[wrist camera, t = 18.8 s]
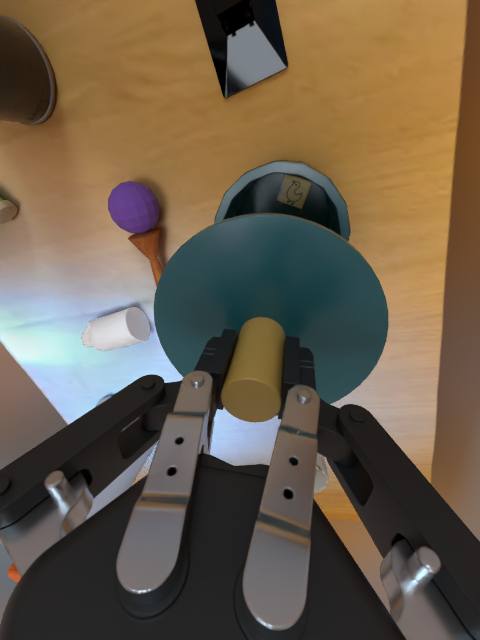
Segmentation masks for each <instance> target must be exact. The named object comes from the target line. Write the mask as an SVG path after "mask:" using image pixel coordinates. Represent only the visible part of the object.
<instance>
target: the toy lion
mask: <svg viewBox="0 0 480 640" xmlns="http://www.w3.org/2000/svg"><path fill="white" fill-rule="evenodd" d="M16 214H17V207H16V206H15V205H13V204H12V203H11V202H10V201H8V200H3V199H2V198H1V197H0V224H3V223H5V222H8V221H9V220H11V219H12V218H13V217H14V216H15V215H16Z"/></svg>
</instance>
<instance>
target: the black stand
mask: <svg viewBox="0 0 480 640" xmlns="http://www.w3.org/2000/svg"><path fill="white" fill-rule="evenodd" d="M195 1H196V5H197V8H198V12H199V15H200V18H201V22H202V25H203V29H204V32H205V35H206V39H207V42H208V46H209V49H210V52H211V56H212V59H213V63H214V66H215V69H216V73H217V76H218V80H219V83H220V86H221V90H222V93H223V96H224V97H225V98H228V97H230V96H232V95H234V94H236V93H238V92H240V91H242V90H244V89H246V88H248V87H250V86H252V85H254V84H256V83H258V82H260V81H262V80H264V79H266V78H268V77H270V76H272V75H274V74H276V73H278V72H280V71H282V70H284V69H286V68H287V67H288V61H287V56H286V51H285V46H284V41H283V36H282V31H281V26H280V21H279V16H278V11H277V6H276V1H275V0H195Z"/></svg>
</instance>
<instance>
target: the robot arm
mask: <svg viewBox="0 0 480 640" xmlns="http://www.w3.org/2000/svg"><path fill="white" fill-rule="evenodd" d="M55 97H56V88H55V80H54V75H53V72H52V68H51V65H50V63H49V60H48V58H47V56H46V54H45V52H44V50H43V49H42V47H41V45H40V44H39V42H38V41H37V40H36V38H35V37H34V36H33V35H32V34H31V33H30V32H29V31H28V30H27V29H26V28H25V27H24V26H22V25H21V24H20V23H18V22H16V21H14V20H12V19H10V18H8V17H6V16H2V15H0V120H4V121H12V122H19V123H22V124H28V125H36V124H40V123H42V122H44V121H45V120H46V119H47V118H48V117H49V116H50V114H51V113H52V110H53V108H54V104H55ZM237 340H238V330H232V329H224V330H223V333H222V335H221V337H215V336H214V337H212V338H211V339H210V340H209V341H208V342H207V344H206V346H205V349H204V350H203V352H202V354H201V356H200V358H199V360H198V363H197V365H196V367H195V369H194V371H192V372H190V373H188V374H187V375H185V376H184V378H183V380H182V381H178V382H171V383H164V380H163V378H161V377H160V376H158V375H146V376H143V377H141V378H139V379H137V380H136V381H134V382H133V383H131V384H130V385H128V386H127V387H125V388H124V389H122V390H121V391H119V392H118V393H116V394H115V395H113V396H112V397H110V398H109V399H107V400H106V401H104V402H103V403H101V404H100V405H98V406H97V407H95V408H93V409H92V410H90V411H89V412H87V413H86V414H84V415H83V416H81V417H80V418H78V419H77V420H75V421H74V422H72V423H71V424H69V425H68V426H66V427H65V428H63V429H62V430H60V431H59V432H57V433H56V434H54V435H53V436H51V437H50V438H48V439H47V440H45V441H44V442H42V443H41V444H39V445H38V446H36V447H35V448H33V449H32V450H30V451H28V452H27V453H25V454H24V455H23V456H21V457H19V458H18V459H16V460H15V461H13V462H12V463H10V464H9V465H7V466H6V467H4V468H3V469H1V470H0V543H1V544H3V545H4V547H5V549H6V550H7V552H8V554H9V556H10V558H11V559H12V562H13V563H14V565H15V567H16V569H17V571H18V573H19V575H20V576H21V579H20V580H19V582H18V584H17V585H16V587H15V588H14V590H13V592H12V594H11V596H10V598H9V600H8V603H7V606H6V608H5V611H4V613H3V617H2V621H1V624H0V640H480V542H479V540H478V539H477V538H476V537H475V536H474V535H473V534H472V532H471V531H470V530H469V529H468V528H467V526H466V525H465V524H464V523H463V522H462V520H461V519H460V518H459V517H458V516H457V515H456V513H455V512H454V511H453V510H452V509H451V508H450V506H449V505H448V504H447V503H446V502H445V500H444V499H443V498H442V497H441V496H440V494H439V493H438V492H437V491H436V490H435V489H434V487H433V486H432V485H431V484H430V483H429V482H428V480H427V479H426V478H425V477H424V476H423V474H422V473H421V472H420V471H419V470H418V469H417V467H416V466H415V465H414V464H413V463H412V461H411V460H410V459H409V458H408V457H407V456H406V454H405V453H404V452H403V451H402V450H401V448H400V447H399V446H398V445H397V444H396V443H395V441H394V440H393V439H392V438H391V437H390V436H389V434H388V433H387V432H386V431H385V430H384V428H383V427H382V426H381V425H380V424H379V423H378V421H377V420H376V419H375V418H374V417H373V415H372V414H371V413H370V412H369V411H367V410H366V409H365V408H363V407H361V406H358V405H354V404H348V405H344V406H342V407H341V408H340V409H339V408H337V407H334V406H332V405H330V404H328V403H326V402H325V401H323V400H322V399H321V398H320V396H319V394H318V392H317V390H316V380H315V369H314V357H313V354H312V352H311V351H310V349H309V348H304V347H300V338H299V337H291V336H286V337H285V345H284V361H283V377H282V393H281V397H282V403H281V408H280V410H279V412H278V419H281V424H280V426H279V429H278V433H277V437H276V441H275V445H274V450H273V454H272V458H271V462H270V466H269V465H263V464H258V465H244V466H233V465H231V464H229V463H226V462H224V461H222V460H220V459H218V458H216V457H214V456H212V455H210V448H211V441H212V434H213V426H214V416H215V414H216V410H217V409H221V410H223V407H224V406H223V404H222V401H221V391H222V388H223V384H224V381H225V378H226V375H227V372H228V369H229V366H230V362H231V359H232V356H233V353H234V350H235V347H236V344H237ZM136 419H137V420H136ZM135 420H136V421H135ZM132 422H133V423H132ZM131 423H132V424H131ZM127 426H128V427H127ZM126 427H127V428H126ZM123 429H124V430H123ZM122 430H123V431H122ZM158 440H159V441H158ZM157 441H158V444H157V447H156V451H155V454H154V457H153V460H152V463H151V466H150V469H149V472H148V474H147V475H146V476H145V477H143V478H142V479H141V480H139V481H138V482H137V483H135V484H134V485H133V486H131V487H130V488H129V489H127V490H126V491H125V492H123V493H122V494H121V495H119V496H118V497H117V498H115V499H114V500H113V501H111V502H110V503H108V504H107V505H106V506H104V507H103V508H102V509H100V510H99V511H98V512H96V513H95V514H94V515H92V516H91V517H90V518H88V519H87V520H86V517H87V515H88V514H89V512H90V510H91V508H92V505H93V499H94V498H95V497H96V496H97V495H99V494H100V493H101V492H102V491H103V490H104V489H105V488H106V487H107V486H108V485H110V484H111V483H112V482H113V481H114V480H115V479H116V478H117V477H118V476H120V475H121V474H122V473H123V472H124V471H125V470H126V469H127V468H128V467H129V466H131V465H132V464H133V463H134V462H135V461H136V460H137V459H138V458H139V457H141V456H142V455H143V454H144V453H145V452H146V451H147V450H148V449H149V448H151V447H152V446H153V445H154V444H155V443H156V442H157ZM317 453H319V454H321V455H323V456H325V457H326V459H327V461H328V463H329V465H330V467H331V468H332V470H333V472H334V474H335V475H336V477H337V479H338V481H339V482H340V484H341V486H342V488H343V489H344V491H345V493H346V495H347V496H348V498H349V500H350V501H351V503H352V505H353V507H354V508H355V510H356V512H357V514H358V515H359V517H360V519H361V521H362V522H363V524H364V526H365V527H366V529H367V531H368V533H369V534H370V536H371V538H372V540H373V541H374V543H375V545H376V547H377V548H378V550H379V552H380V554H381V555H382V557H383V561H382V562H381V566H380V577H381V581H382V584H383V587H384V589H385V592H386V594H387V597H388V600H389V605H390V613H389V612H388V610H387V609H386V607H385V606H384V605H383V603H382V602H381V600H380V598H379V597H378V595H377V594H376V592H375V591H374V589H373V588H372V586H371V585H370V583H369V582H368V580H367V579H366V577H365V576H364V574H363V572H362V571H361V569H360V568H359V567H358V565H357V564H356V562H355V561H354V559H353V557H352V556H351V554H350V553H349V551H348V550H347V548H346V547H345V545H344V544H343V542H342V541H341V539H340V538H339V536H338V535H337V533H336V532H335V530H334V529H333V527H332V526H331V524H330V522H329V521H328V519H327V518H326V516H325V515H324V513H323V512H322V510H321V509H320V507H319V506H318V504H317V503H316V501H315V500H314V499H313V496H314V484H315V473H316V462H317ZM85 520H86V521H85Z"/></svg>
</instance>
